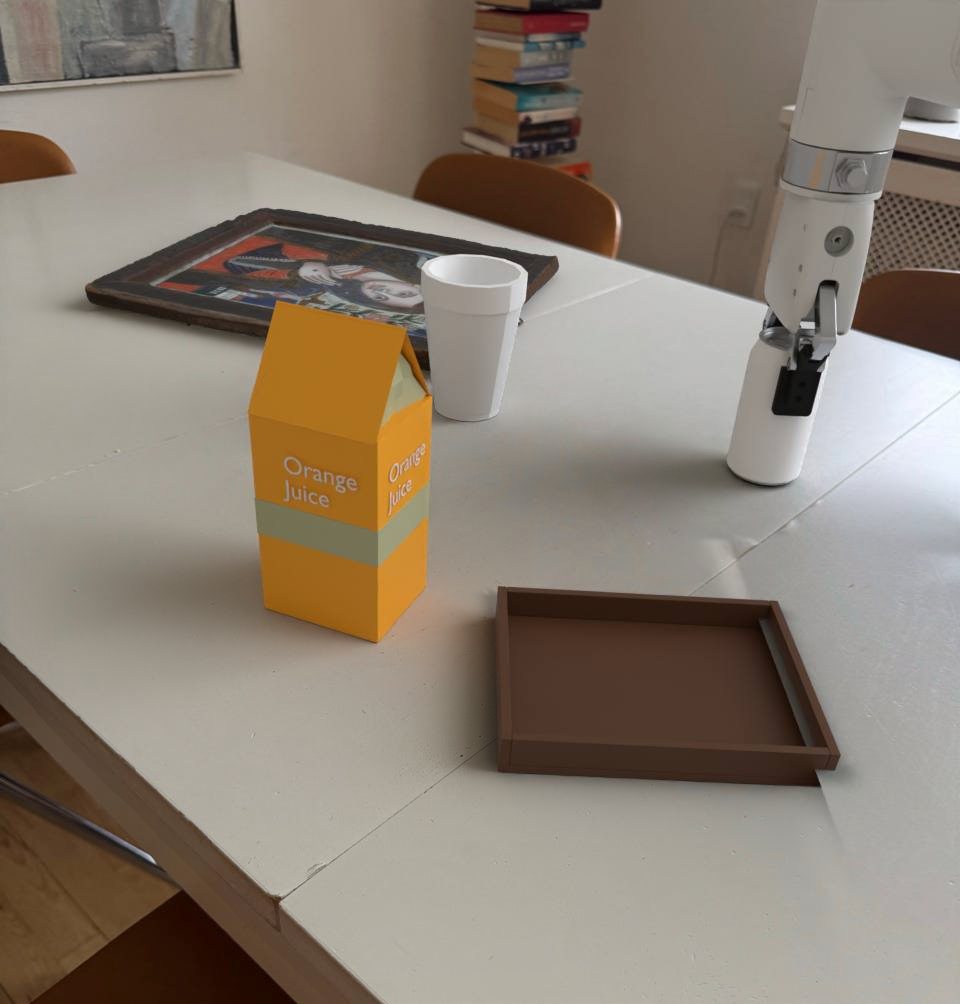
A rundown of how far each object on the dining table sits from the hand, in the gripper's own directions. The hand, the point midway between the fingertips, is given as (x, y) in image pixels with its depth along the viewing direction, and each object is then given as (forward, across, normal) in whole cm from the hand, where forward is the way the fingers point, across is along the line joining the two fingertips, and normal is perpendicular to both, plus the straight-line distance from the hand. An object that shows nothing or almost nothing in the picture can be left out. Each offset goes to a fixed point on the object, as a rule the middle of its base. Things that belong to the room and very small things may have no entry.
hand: (780, 394), depth 85 cm
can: (+7, 0, 0) cm, 7 cm away
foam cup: (+7, +10, +26) cm, 29 cm away
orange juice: (+7, -23, +34) cm, 42 cm away
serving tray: (+7, -32, +14) cm, 36 cm away
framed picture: (+7, +41, +42) cm, 59 cm away
